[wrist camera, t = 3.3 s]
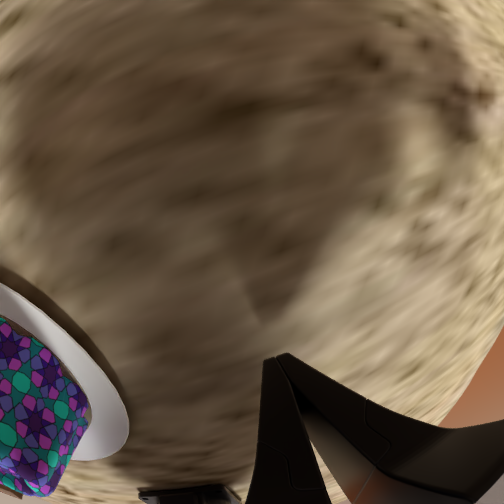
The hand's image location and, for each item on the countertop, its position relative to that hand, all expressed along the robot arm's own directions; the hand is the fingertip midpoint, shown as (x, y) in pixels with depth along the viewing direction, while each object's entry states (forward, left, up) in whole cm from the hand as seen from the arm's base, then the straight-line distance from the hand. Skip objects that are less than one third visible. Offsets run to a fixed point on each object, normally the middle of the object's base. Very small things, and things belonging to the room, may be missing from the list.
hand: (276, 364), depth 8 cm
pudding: (0, +12, -2) cm, 12 cm away
